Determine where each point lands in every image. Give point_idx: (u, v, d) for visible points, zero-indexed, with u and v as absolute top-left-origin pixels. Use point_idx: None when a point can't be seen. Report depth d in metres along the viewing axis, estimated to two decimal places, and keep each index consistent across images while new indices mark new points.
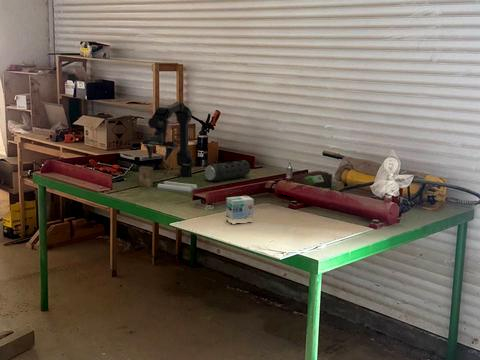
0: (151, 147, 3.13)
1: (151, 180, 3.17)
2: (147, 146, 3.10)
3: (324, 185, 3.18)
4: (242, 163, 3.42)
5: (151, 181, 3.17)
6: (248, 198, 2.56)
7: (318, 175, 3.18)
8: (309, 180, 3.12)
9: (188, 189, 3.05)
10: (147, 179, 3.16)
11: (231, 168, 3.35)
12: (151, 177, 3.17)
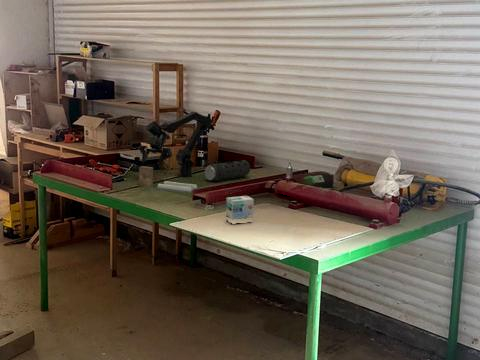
0: (146, 154, 3.26)
1: (151, 180, 3.17)
2: (143, 150, 3.24)
3: (324, 185, 3.18)
4: (242, 163, 3.42)
5: (151, 181, 3.17)
6: (248, 198, 2.56)
7: (319, 175, 3.18)
8: (308, 180, 3.12)
9: (188, 189, 3.05)
10: (147, 179, 3.16)
11: (231, 168, 3.35)
12: (151, 177, 3.17)
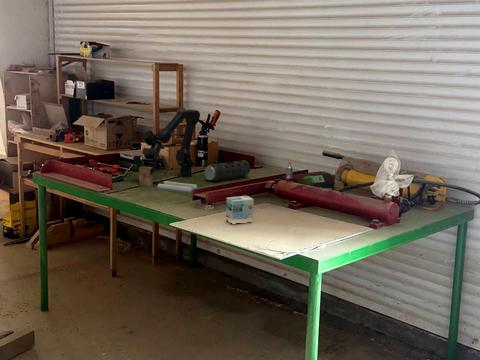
0: (142, 164, 3.21)
1: (151, 180, 3.17)
2: (139, 160, 3.19)
3: (324, 186, 3.17)
4: (242, 163, 3.42)
5: (151, 181, 3.17)
6: (248, 198, 2.56)
7: (319, 175, 3.18)
8: (307, 179, 3.12)
9: (188, 189, 3.05)
10: (147, 179, 3.16)
11: (231, 168, 3.35)
12: (151, 177, 3.17)
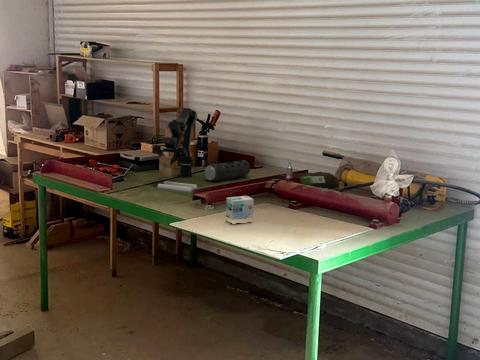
0: (163, 154, 3.15)
1: (171, 170, 3.11)
2: (160, 150, 3.13)
3: (324, 187, 3.15)
4: (242, 163, 3.42)
5: (171, 171, 3.11)
6: (248, 198, 2.56)
7: (320, 176, 3.16)
8: (306, 179, 3.12)
9: (188, 189, 3.05)
10: (167, 169, 3.10)
11: (231, 168, 3.35)
12: (171, 167, 3.11)
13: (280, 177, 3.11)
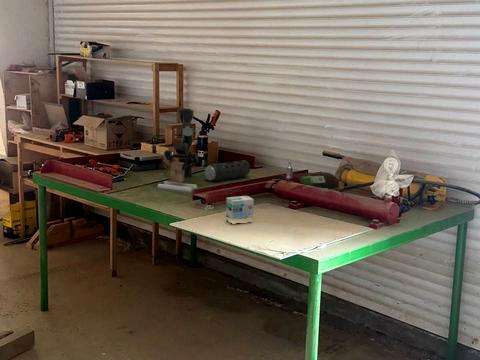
0: (174, 160, 3.14)
1: (183, 176, 3.10)
2: (171, 156, 3.11)
3: (324, 186, 3.15)
4: (242, 163, 3.42)
5: (183, 177, 3.10)
6: (248, 198, 2.56)
7: (320, 176, 3.16)
8: (306, 179, 3.12)
9: (188, 189, 3.05)
10: (179, 175, 3.08)
11: (231, 168, 3.35)
12: (183, 173, 3.10)
13: (280, 177, 3.11)
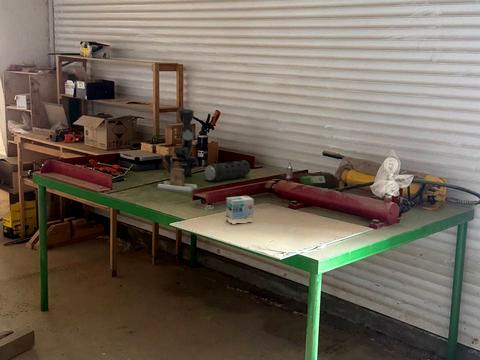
0: (172, 164, 3.15)
1: (183, 182, 3.11)
2: (169, 160, 3.12)
3: (325, 186, 3.15)
4: (242, 163, 3.42)
5: (183, 183, 3.11)
6: (248, 198, 2.56)
7: (320, 176, 3.16)
8: (306, 179, 3.12)
9: (188, 189, 3.05)
10: (179, 181, 3.09)
11: (231, 168, 3.35)
12: (183, 179, 3.10)
13: (280, 177, 3.11)
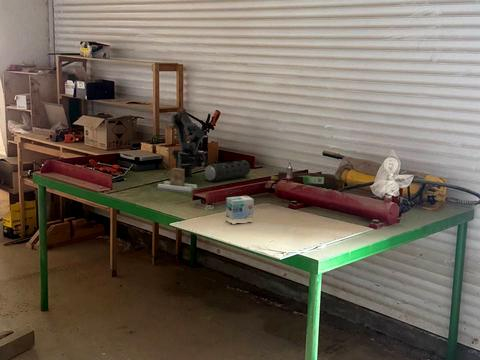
0: (179, 158, 3.23)
1: (183, 182, 3.11)
2: (176, 155, 3.21)
3: None
4: (242, 163, 3.42)
5: (183, 183, 3.11)
6: (248, 198, 2.56)
7: (320, 177, 3.14)
8: (303, 179, 3.14)
9: (188, 189, 3.05)
10: (179, 181, 3.09)
11: (231, 168, 3.35)
12: (183, 179, 3.10)
13: (278, 174, 3.18)
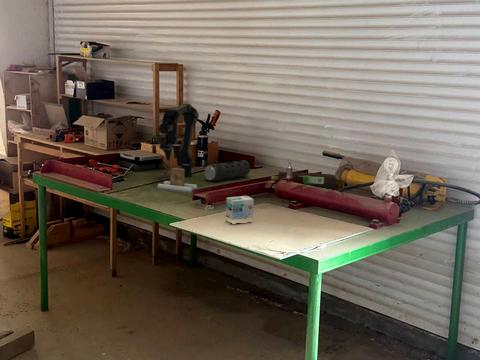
0: (177, 147, 3.28)
1: (183, 182, 3.11)
2: None
3: None
4: (242, 163, 3.42)
5: (183, 183, 3.11)
6: (248, 198, 2.56)
7: (320, 177, 3.14)
8: (303, 179, 3.14)
9: (188, 189, 3.05)
10: (179, 181, 3.09)
11: (231, 168, 3.35)
12: (183, 179, 3.10)
13: None
